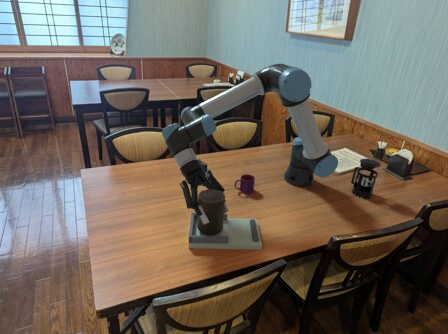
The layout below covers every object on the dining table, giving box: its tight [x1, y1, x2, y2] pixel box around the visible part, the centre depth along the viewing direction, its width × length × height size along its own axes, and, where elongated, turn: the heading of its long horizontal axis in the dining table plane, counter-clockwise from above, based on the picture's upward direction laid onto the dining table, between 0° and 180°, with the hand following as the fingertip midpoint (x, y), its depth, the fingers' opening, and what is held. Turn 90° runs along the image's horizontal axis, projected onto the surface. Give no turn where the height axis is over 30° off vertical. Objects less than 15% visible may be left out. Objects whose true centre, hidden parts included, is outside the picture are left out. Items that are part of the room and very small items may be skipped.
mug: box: [234, 173, 256, 194], centre depth 146 cm, size 7×10×7 cm
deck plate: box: [188, 212, 263, 251], centre depth 115 cm, size 26×16×4 cm, turn 91°
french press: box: [350, 148, 382, 199], centre depth 146 cm, size 12×9×23 cm
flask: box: [197, 158, 208, 178], centre depth 154 cm, size 9×3×11 cm, turn 71°
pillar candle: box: [197, 188, 226, 235], centre depth 111 cm, size 10×10×15 cm
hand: (217, 217), depth 110 cm, fingers closed on pillar candle, 10 cm apart
